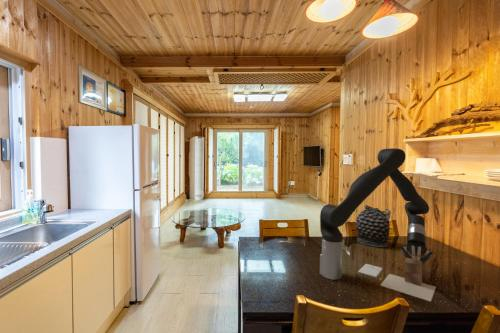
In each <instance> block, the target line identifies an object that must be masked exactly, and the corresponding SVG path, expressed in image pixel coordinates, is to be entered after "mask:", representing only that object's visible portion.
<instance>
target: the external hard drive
mask: <svg viewBox="0 0 500 333" xmlns="http://www.w3.org/2000/svg"><path fill="white" fill-rule="evenodd" d="M383 269H384V268H382V267H381V266H380V267H379V266H375V265H373V264H368V263H365V264H364V265H363V266H362V267H361V268H360V269H359V270H358V271H357V275H365V276H368V277H370V278H371V277H372V278H374V279H377V278H378V276H379V275H380V274H381V273H382V271H383Z"/></svg>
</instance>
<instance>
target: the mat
mask: <svg viewBox="0 0 500 333" xmlns="http://www.w3.org/2000/svg"><path fill="white" fill-rule="evenodd" d="M379 286H381V287H384V288H387V289H390V290H394V291H397V292H400V293H403V294H406V295H409V296H412V297H415V298H418V299H422V300H424V301H428V302H432V300H433V296H434V294H435V291H436V287H437V286H434V285H430V284H427V283H424V282H422V283H421V286H418V285H415V284H412V283H408V282H405V278H404V277H402V276H399V275H396V274H392V273H389V274H388V275H387V276H386V277H385V279H384V280H383V282H381V283H380V285H379Z"/></svg>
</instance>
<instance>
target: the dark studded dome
mask: <svg viewBox="0 0 500 333" xmlns="http://www.w3.org/2000/svg"><path fill="white" fill-rule="evenodd" d="M391 213H392V211H391V210H390V209H388V208H385V209H384V210H380V209H379V208H378V207H373V206H369V205H367V204H366V205H365V206H364V209H363V210H361V211H360V213H358V215H357V216H356V218H355V220H356V222H355V223H354V225H355V230H356V233H357V237H356V241H357V242H358V243H360V244H361V245H365V246H372V247H377V248H378V247H379V248H386V247H388V245H389V242H388V240H389V237H390V230H391V229H390V228H391V227H390V226H391V225H390V219H391Z"/></svg>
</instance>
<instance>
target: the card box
mask: <svg viewBox="0 0 500 333" xmlns="http://www.w3.org/2000/svg"><path fill="white" fill-rule="evenodd" d="M403 270H404V274H403V276H404V277H403V278H405V282H408V283H412V284H415V285H418V286H421V283H423V263H422V261H419V260H417V259H416V258H415V259H410V258H406V257H405V259H404V261H403Z"/></svg>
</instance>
